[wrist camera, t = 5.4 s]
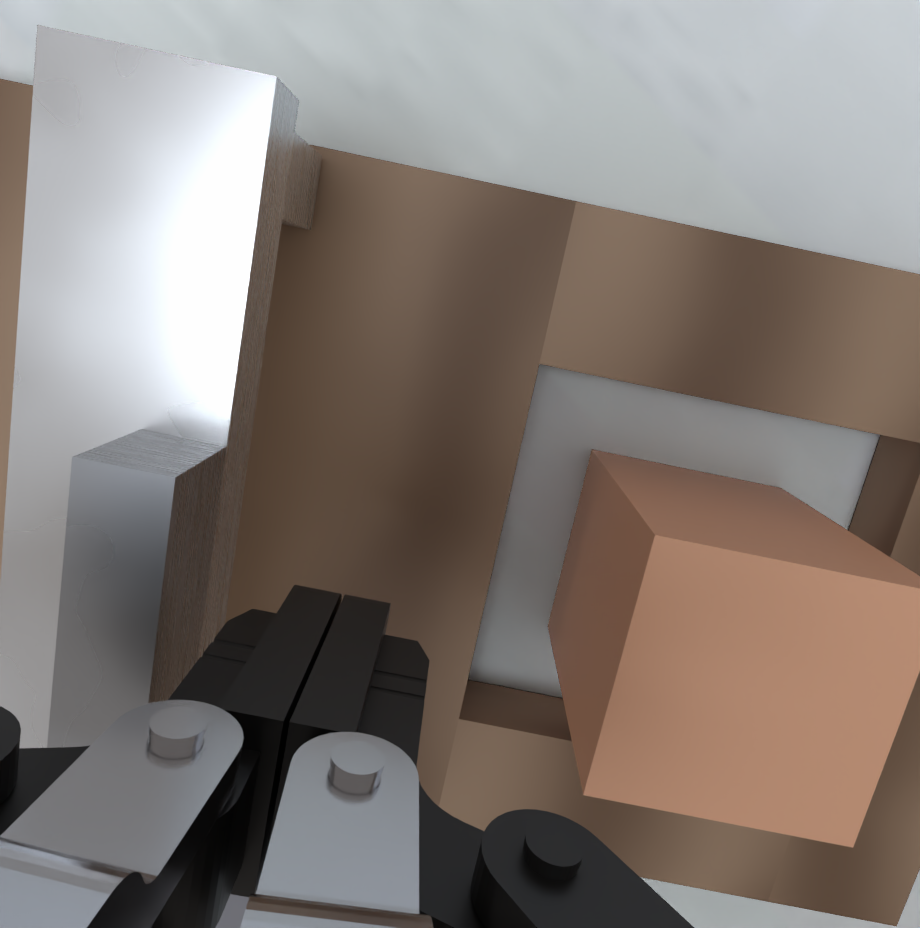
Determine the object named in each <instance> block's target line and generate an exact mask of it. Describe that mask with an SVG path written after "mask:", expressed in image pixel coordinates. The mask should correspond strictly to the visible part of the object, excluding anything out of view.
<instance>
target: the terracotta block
mask: <svg viewBox="0 0 920 928" xmlns="http://www.w3.org/2000/svg"><path fill="white" fill-rule="evenodd" d="M548 630H549V635H550V640H551V644H552V649H553V654H554V659H555V663H556V668H557V673H558V678H559V682H560V687H561V692H562V697H563V701H564V706H565V711H566V716H567V720H568V725H569V730H570V735H571V739H572V744H573V749H574V754H575V758H576V763H577V768H578V773H579V777H580V782H581V787H582V792H583V795H585V796H590V797H595V798H601V799H606V800H611V801H616V802H621V803H626V804H631V805H637V806H642V807H647V808H652V809H657V810H662V811H667V812H673V813H678V814H683V815H688V816H693V817H698V818H703V819H708V820H714V821H719V822H724V823H729V824H734V825H739V826H744V827H750V828H755V829H760V830H765V831H770V832H775V833H780V834H786V835H791V836H796V837H801V838H806V839H811V840H816V841H821V842H827V843H832V844H837V845H842V846H847V847H852V848H853V847H854V844H855V841H856V839H857V836H858V833H859V831H860V828H861V825H862V823H863V820H864V818H865V815H866V812H867V810H868V807H869V804H870V802H871V799H872V796H873V794H874V791H875V788H876V786H877V783H878V780H879V778H880V775H881V772H882V770H883V767H884V764H885V762H886V759H887V757H888V754H889V751H890V749H891V746H892V743H893V741H894V738H895V735H896V733H897V730H898V727H899V725H900V722H901V719H902V717H903V714H904V711H905V709H906V706H907V703H908V701H909V698H910V696H911V693H912V690H913V688H914V685H915V682H916V680H917V677H918V674H919V672H920V576H919V575H917V574H916V573H914V572H912V571H911V570H909V569H908V568H906V567H905V566H903V565H901V564H900V563H898V562H897V561H895V560H894V559H892V558H890V557H889V556H887V555H886V554H884V553H883V552H881V551H879V550H878V549H876V548H875V547H873V546H871V545H870V544H868V543H867V542H865V541H864V540H862V539H860V538H859V537H857V536H856V535H854V534H853V533H851V532H849V531H848V530H846V529H845V528H843V527H842V526H840V525H838V524H837V523H835V522H834V521H832V520H831V519H829V518H827V517H826V516H824V515H823V514H821V513H820V512H818V511H816V510H815V509H813V508H812V507H810V506H809V505H807V504H805V503H804V502H802V501H801V500H799V499H798V498H796V497H794V496H793V495H791V494H790V493H788V492H787V491H785V490H783V489H782V488H778V487H773V486H768V485H763V484H759V483H754V482H749V481H744V480H739V479H734V478H729V477H724V476H720V475H715V474H710V473H705V472H700V471H695V470H690V469H685V468H680V467H676V466H671V465H666V464H661V463H656V462H651V461H646V460H641V459H637V458H632V457H627V456H622V455H617V454H612V453H607V452H602V451H598V450H593V449H592V450H591V454H590V458H589V462H588V467H587V471H586V475H585V479H584V483H583V487H582V491H581V495H580V499H579V503H578V507H577V511H576V515H575V519H574V523H573V527H572V531H571V535H570V539H569V543H568V547H567V551H566V555H565V559H564V563H563V567H562V571H561V575H560V579H559V583H558V587H557V591H556V595H555V599H554V603H553V607H552V611H551V615H550V619H549V623H548Z"/></svg>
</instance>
